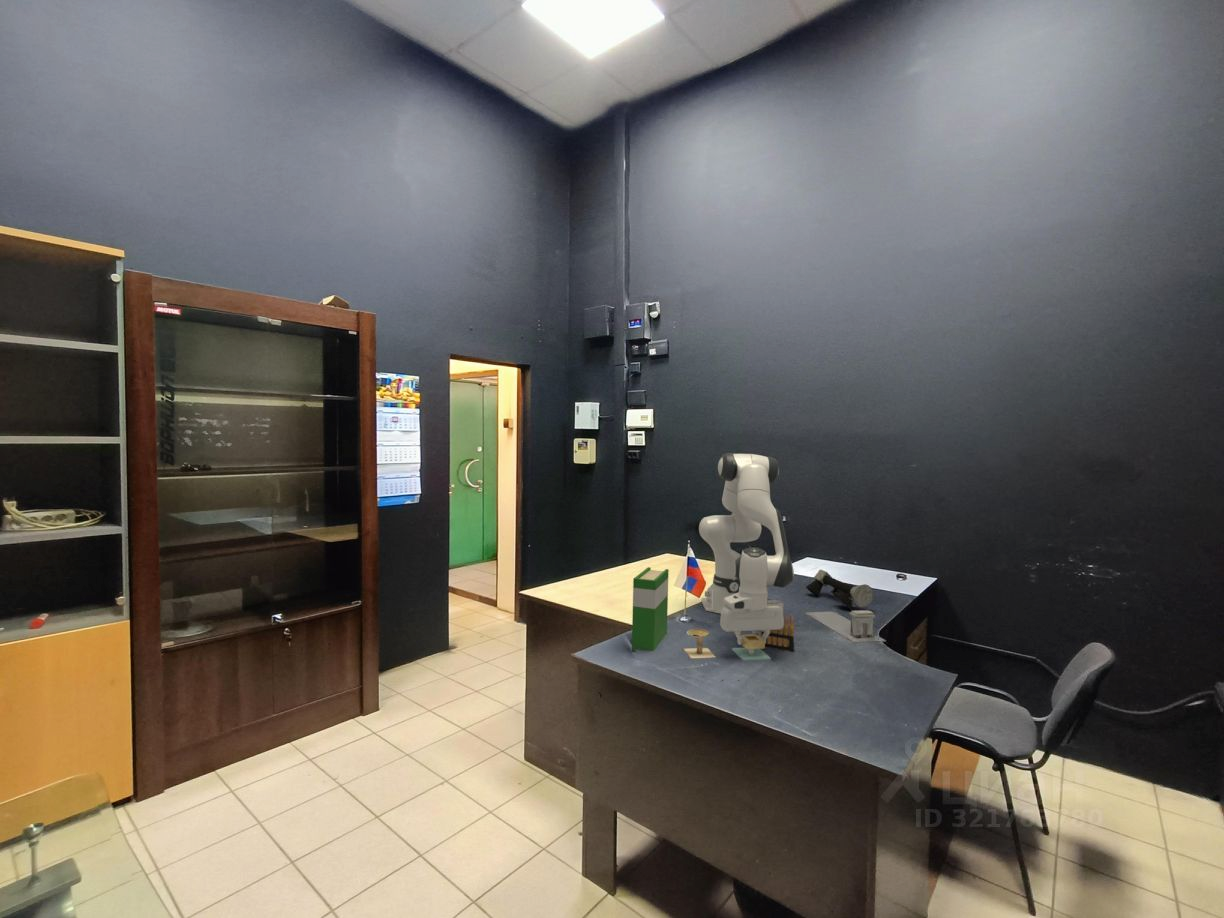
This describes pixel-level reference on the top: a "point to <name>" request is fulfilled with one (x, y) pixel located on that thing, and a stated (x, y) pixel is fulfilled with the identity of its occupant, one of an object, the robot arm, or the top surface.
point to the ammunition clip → (782, 636)
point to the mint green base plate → (751, 654)
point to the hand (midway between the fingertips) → (751, 643)
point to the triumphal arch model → (849, 625)
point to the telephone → (842, 590)
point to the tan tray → (753, 641)
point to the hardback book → (649, 609)
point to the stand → (699, 650)
